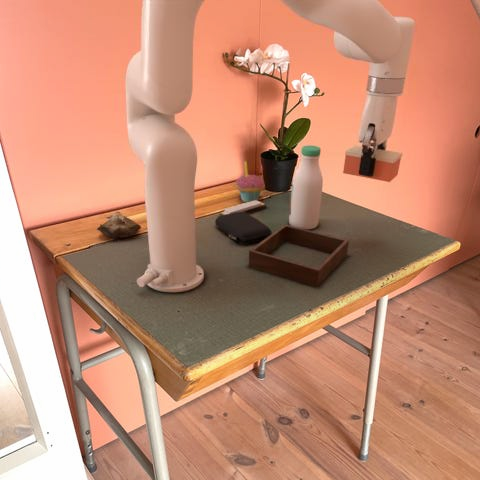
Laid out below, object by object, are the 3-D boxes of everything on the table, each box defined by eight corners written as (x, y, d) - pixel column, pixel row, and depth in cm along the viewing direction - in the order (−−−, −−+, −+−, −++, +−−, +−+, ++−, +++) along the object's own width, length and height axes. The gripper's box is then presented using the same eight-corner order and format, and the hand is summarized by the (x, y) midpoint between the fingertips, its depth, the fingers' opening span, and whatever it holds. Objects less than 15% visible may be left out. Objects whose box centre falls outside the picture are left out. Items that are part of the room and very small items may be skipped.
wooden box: (317, 287, 104) (319, 270, 102) (248, 266, 111) (249, 250, 109) (346, 255, 117) (349, 240, 115) (283, 239, 124) (284, 224, 121)
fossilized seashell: (92, 233, 118) (133, 242, 118) (97, 205, 118) (139, 214, 118) (100, 236, 125) (139, 245, 126) (105, 210, 125) (144, 219, 125)
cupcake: (245, 206, 141) (246, 164, 134) (229, 197, 147) (230, 156, 140) (269, 201, 145) (272, 160, 138) (253, 192, 151) (255, 152, 144)
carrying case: (208, 226, 129) (238, 248, 119) (208, 215, 127) (238, 236, 117) (243, 219, 134) (274, 239, 123) (243, 208, 132) (275, 228, 122)
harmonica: (226, 220, 132) (226, 213, 131) (219, 217, 134) (219, 210, 133) (266, 208, 140) (266, 201, 139) (258, 205, 142) (259, 198, 141)
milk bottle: (323, 226, 131) (333, 149, 120) (301, 232, 127) (309, 153, 116) (304, 216, 136) (312, 141, 125) (282, 222, 132) (288, 145, 121)
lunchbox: (390, 182, 110) (394, 159, 107) (342, 173, 114) (345, 151, 111) (398, 175, 114) (402, 152, 111) (351, 166, 119) (354, 145, 116)
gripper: (380, 78, 111) (367, 159, 122) (353, 89, 99) (341, 178, 109) (413, 82, 108) (397, 164, 118) (390, 94, 96) (374, 185, 106)
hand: (370, 170), depth 114 cm, fingers closed on lunchbox, 6 cm apart
